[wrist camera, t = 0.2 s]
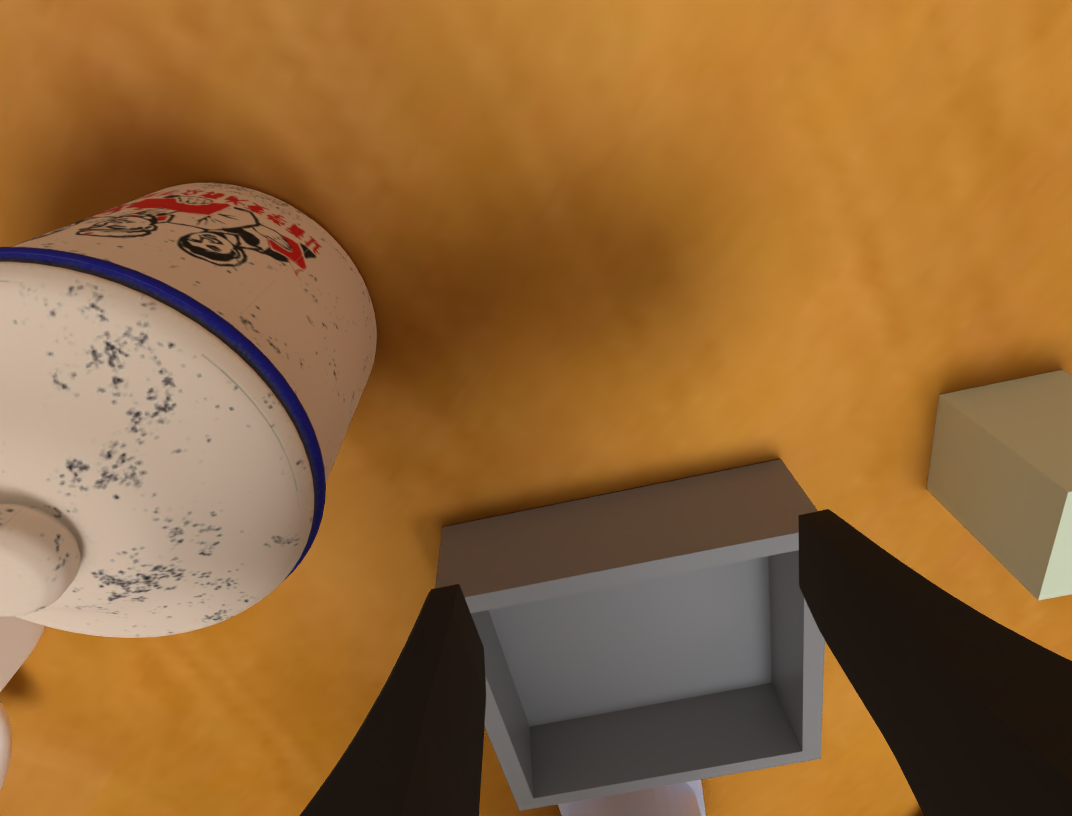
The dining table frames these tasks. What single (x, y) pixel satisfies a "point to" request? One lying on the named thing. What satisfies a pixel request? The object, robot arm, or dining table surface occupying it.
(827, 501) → the dining table surface
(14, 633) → the mug
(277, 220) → the teacup with lid
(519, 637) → the bin
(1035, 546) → the block
